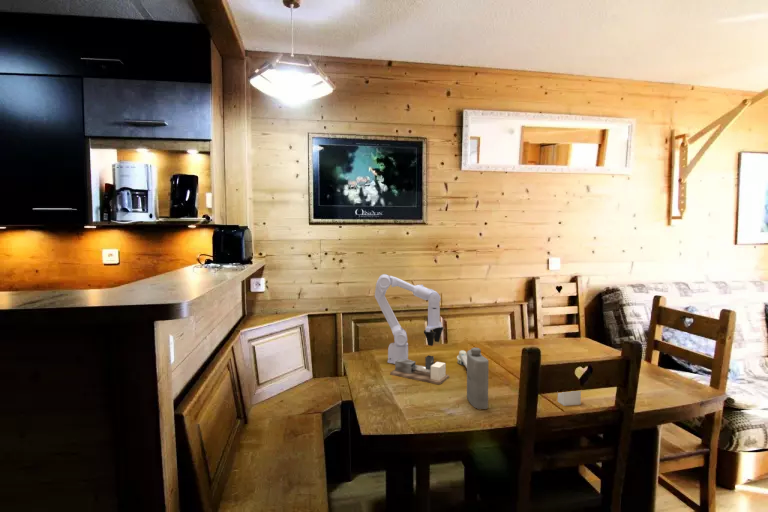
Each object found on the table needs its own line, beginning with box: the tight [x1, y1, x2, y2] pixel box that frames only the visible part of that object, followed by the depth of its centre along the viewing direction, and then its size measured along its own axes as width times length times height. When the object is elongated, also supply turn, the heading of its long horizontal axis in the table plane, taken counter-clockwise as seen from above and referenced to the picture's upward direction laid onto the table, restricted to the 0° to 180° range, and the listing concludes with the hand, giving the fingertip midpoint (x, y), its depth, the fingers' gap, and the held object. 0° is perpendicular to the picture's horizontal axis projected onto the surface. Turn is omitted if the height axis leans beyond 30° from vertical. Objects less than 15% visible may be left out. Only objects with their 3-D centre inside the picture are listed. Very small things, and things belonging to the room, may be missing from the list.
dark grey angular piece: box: [412, 355, 435, 374], centre depth 172 cm, size 14×3×8 cm, turn 59°
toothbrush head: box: [456, 350, 467, 369], centre depth 181 cm, size 5×7×25 cm
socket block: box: [431, 361, 447, 381], centre depth 169 cm, size 4×7×6 cm, turn 149°
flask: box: [466, 347, 489, 410], centre depth 146 cm, size 15×6×20 cm, turn 2°
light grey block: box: [557, 390, 582, 407], centre depth 145 cm, size 4×7×10 cm, turn 99°
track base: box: [389, 359, 450, 386], centre depth 174 cm, size 24×10×5 cm, turn 59°
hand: (433, 343), depth 191 cm, fingers open, 7 cm apart
